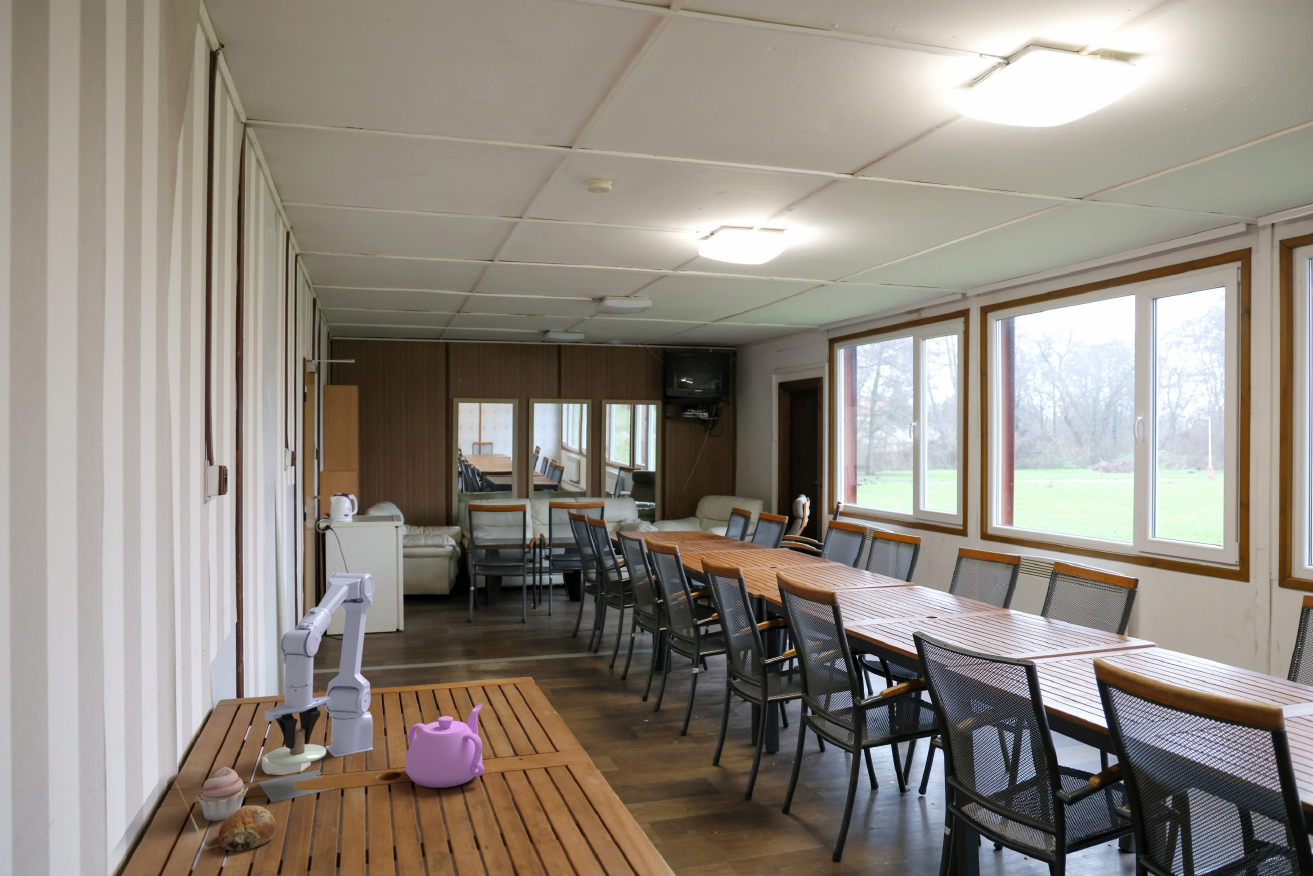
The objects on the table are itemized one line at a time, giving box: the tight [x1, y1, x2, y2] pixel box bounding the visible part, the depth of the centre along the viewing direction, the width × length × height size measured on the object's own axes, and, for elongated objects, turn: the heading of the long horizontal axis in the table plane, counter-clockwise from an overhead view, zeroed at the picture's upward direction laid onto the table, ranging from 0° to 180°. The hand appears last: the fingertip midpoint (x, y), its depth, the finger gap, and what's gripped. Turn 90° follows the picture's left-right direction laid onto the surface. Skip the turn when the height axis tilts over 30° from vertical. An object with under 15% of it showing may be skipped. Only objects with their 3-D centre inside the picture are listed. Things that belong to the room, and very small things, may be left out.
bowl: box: [261, 752, 312, 776], centre depth 198 cm, size 10×10×3 cm
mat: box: [257, 769, 336, 803], centre depth 187 cm, size 13×13×1 cm
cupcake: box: [195, 766, 249, 822], centre depth 172 cm, size 9×9×10 cm
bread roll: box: [217, 805, 277, 852], centre depth 162 cm, size 10×10×8 cm
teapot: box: [405, 704, 485, 789], centre depth 197 cm, size 22×22×14 cm
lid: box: [267, 727, 327, 765], centre depth 188 cm, size 12×12×6 cm
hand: (297, 745), depth 188 cm, fingers closed on lid, 3 cm apart
